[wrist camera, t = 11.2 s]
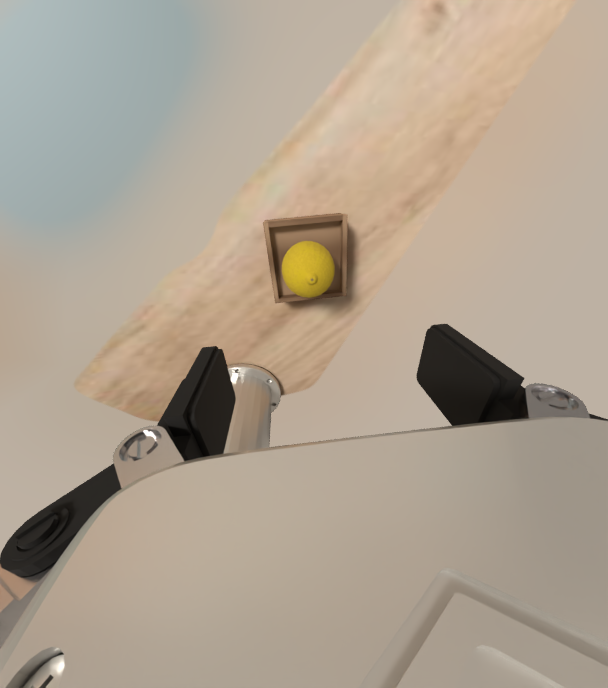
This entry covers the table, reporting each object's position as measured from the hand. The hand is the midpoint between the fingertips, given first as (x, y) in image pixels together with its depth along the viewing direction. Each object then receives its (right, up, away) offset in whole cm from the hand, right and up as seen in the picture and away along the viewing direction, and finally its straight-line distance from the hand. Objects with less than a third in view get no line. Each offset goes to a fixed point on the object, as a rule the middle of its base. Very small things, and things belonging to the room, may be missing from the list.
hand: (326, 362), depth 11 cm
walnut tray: (-1, +12, +20) cm, 23 cm away
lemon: (-1, +11, +18) cm, 21 cm away
